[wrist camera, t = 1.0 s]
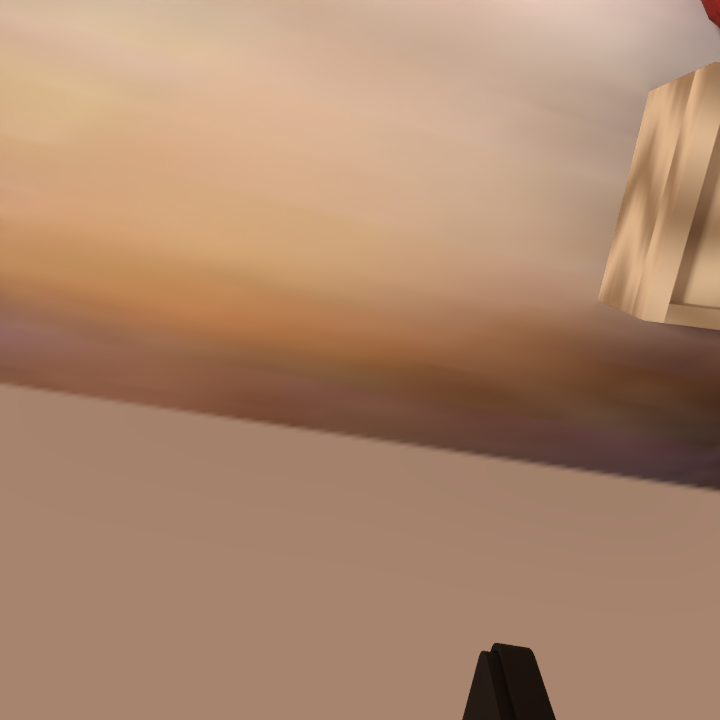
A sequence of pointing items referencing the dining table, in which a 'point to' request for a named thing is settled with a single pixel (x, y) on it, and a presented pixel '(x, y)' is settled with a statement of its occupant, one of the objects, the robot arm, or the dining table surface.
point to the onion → (712, 10)
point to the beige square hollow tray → (672, 209)
